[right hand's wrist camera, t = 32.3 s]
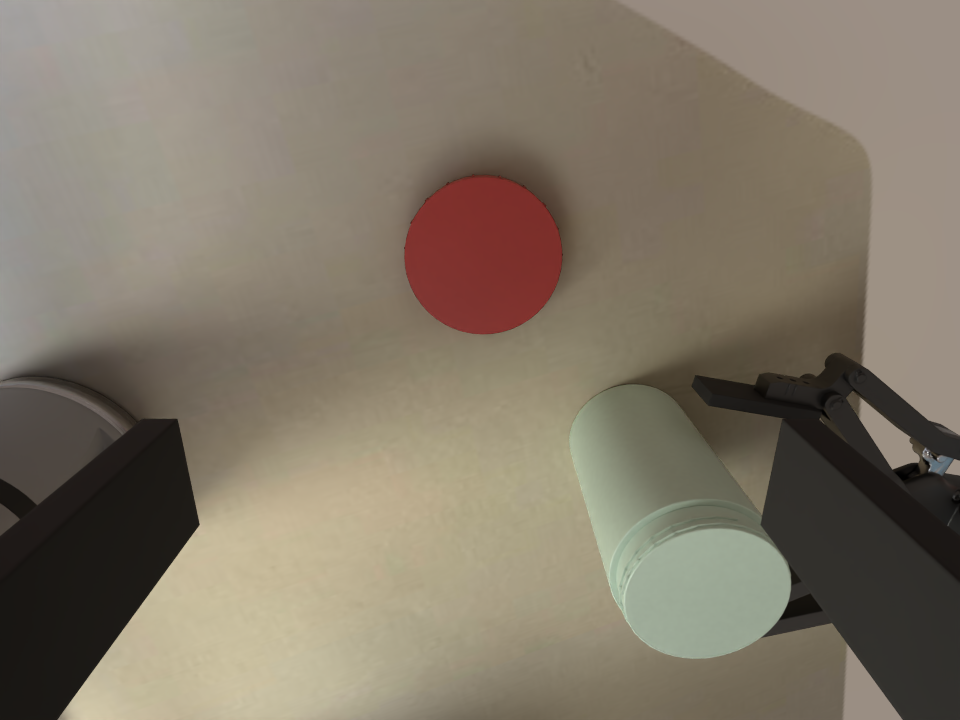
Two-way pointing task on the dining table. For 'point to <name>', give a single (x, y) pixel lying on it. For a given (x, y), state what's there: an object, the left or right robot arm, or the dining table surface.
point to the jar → (674, 527)
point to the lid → (483, 254)
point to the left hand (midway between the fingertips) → (666, 487)
